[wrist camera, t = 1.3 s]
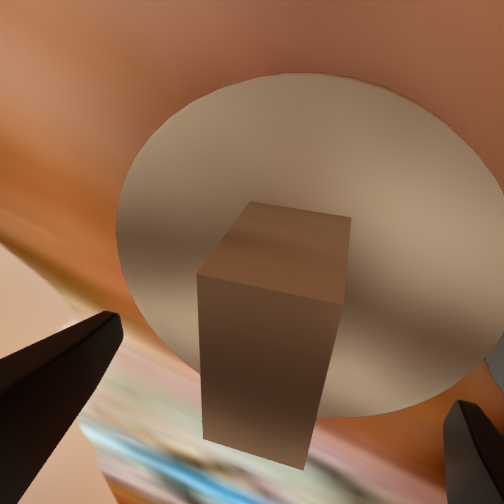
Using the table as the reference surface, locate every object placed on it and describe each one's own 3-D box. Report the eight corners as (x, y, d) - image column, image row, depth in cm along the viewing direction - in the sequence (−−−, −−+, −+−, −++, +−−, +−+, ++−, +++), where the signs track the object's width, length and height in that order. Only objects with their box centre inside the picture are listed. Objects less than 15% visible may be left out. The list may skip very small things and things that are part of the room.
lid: (428, 430, 15) (452, 581, 11) (149, 355, 17) (82, 452, 13) (610, 95, 8) (881, 153, 4) (104, 55, 11) (-64, 64, 6)
